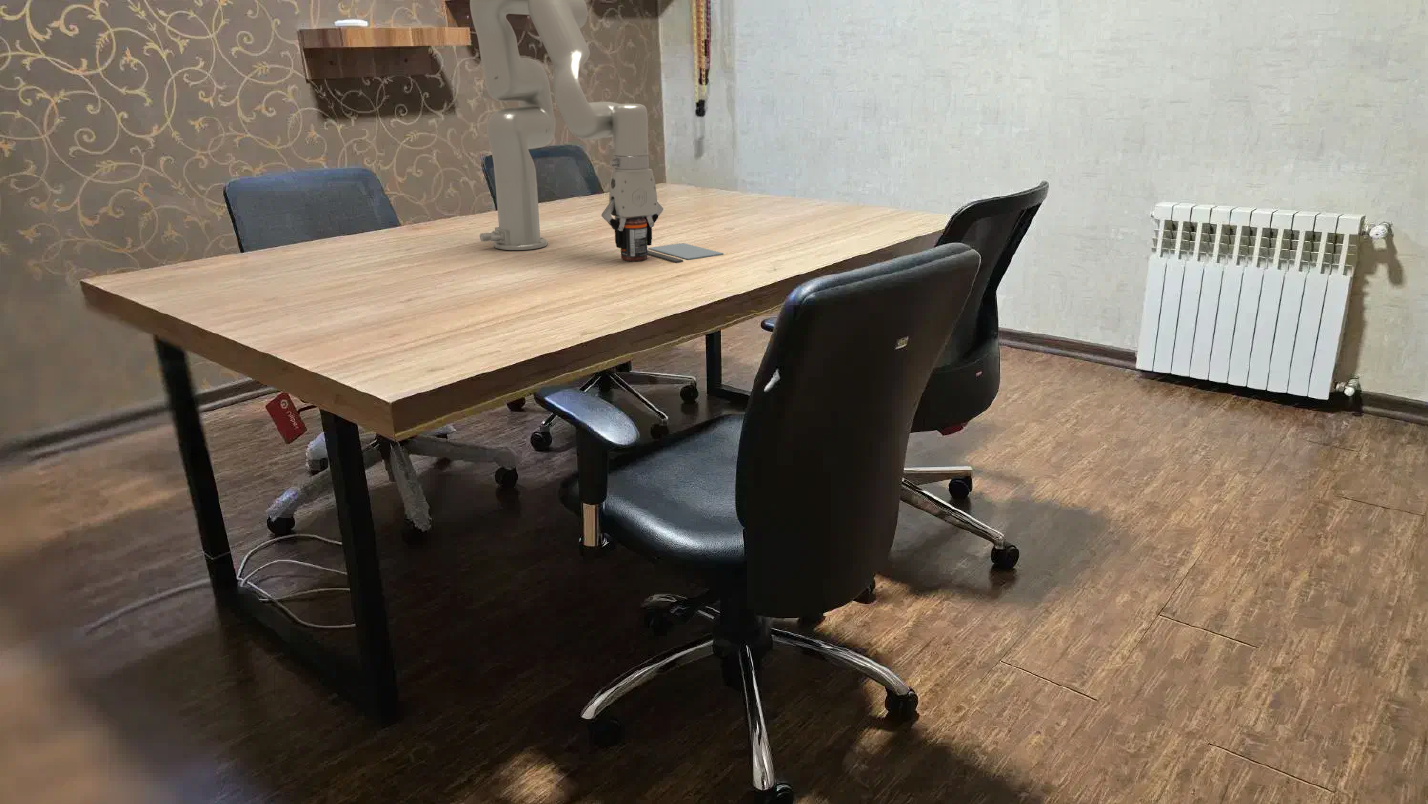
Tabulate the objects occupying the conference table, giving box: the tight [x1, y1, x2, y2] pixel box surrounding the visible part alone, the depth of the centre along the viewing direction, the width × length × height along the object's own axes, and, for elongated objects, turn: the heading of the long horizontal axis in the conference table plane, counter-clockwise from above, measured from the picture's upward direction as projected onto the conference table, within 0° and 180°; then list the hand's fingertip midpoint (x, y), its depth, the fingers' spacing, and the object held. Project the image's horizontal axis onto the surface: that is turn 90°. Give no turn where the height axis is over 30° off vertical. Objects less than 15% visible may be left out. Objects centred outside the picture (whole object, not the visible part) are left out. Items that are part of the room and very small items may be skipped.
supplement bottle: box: [620, 217, 648, 262], centre depth 214 cm, size 6×6×11 cm
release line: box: [647, 249, 684, 264], centre depth 220 cm, size 2×18×1 cm, turn 37°
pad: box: [647, 242, 724, 261], centre depth 224 cm, size 10×16×1 cm, turn 37°
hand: (633, 245), depth 215 cm, fingers closed on supplement bottle, 6 cm apart
